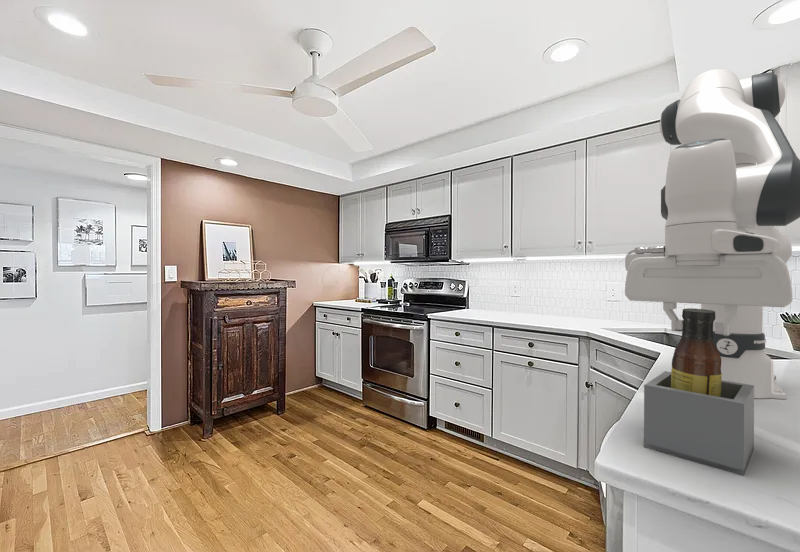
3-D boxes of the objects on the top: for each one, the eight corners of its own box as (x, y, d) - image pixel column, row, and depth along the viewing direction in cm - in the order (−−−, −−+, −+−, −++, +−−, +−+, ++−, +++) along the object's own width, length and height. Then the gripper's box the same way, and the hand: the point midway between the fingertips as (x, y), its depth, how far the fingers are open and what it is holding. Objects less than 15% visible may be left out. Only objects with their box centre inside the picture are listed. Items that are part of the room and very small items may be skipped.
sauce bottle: (703, 428, 62) (714, 308, 61) (727, 447, 56) (740, 314, 55) (659, 423, 64) (668, 305, 62) (677, 440, 57) (688, 311, 56)
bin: (665, 427, 68) (665, 371, 67) (753, 449, 59) (754, 385, 59) (643, 448, 59) (644, 384, 59) (743, 478, 51) (744, 403, 51)
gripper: (618, 247, 65) (618, 328, 65) (791, 238, 49) (791, 344, 49) (631, 248, 69) (631, 324, 69) (793, 241, 54) (793, 338, 54)
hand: (699, 333), depth 59 cm, fingers open, 4 cm apart
